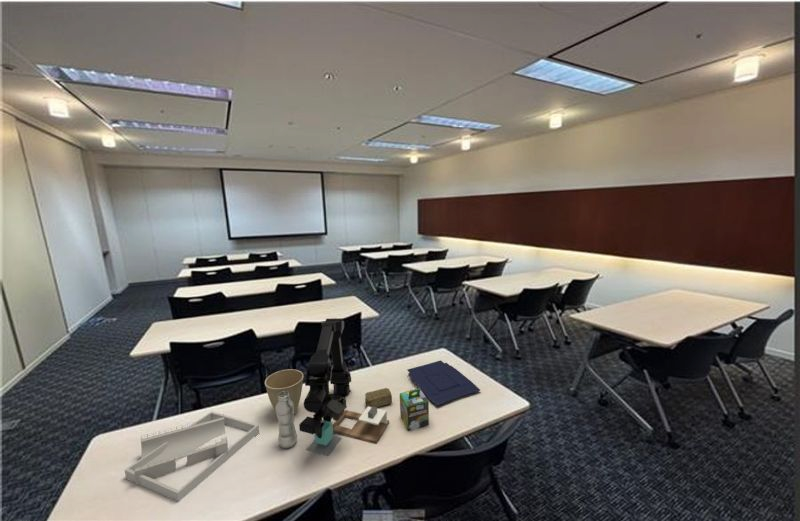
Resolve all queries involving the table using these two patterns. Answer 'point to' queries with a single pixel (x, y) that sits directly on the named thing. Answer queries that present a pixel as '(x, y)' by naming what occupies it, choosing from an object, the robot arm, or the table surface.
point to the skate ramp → (182, 447)
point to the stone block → (378, 398)
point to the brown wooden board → (360, 428)
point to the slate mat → (322, 448)
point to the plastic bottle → (286, 420)
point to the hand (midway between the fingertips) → (323, 433)
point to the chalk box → (414, 409)
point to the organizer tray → (206, 471)
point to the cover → (373, 416)
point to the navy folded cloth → (441, 382)
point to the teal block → (325, 433)
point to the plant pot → (285, 386)
